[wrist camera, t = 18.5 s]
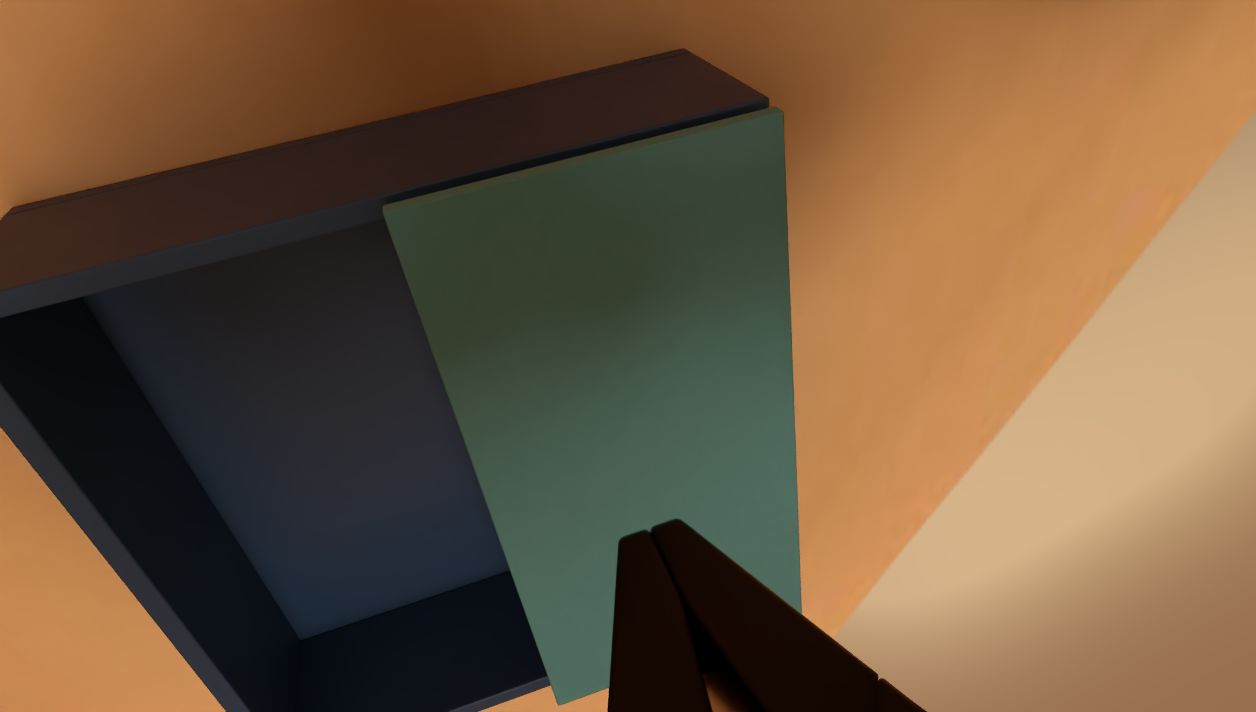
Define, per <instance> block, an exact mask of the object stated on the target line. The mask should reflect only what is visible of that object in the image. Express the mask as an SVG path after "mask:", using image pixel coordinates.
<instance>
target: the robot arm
mask: <svg viewBox="0 0 1256 712" xmlns="http://www.w3.org/2000/svg"><path fill="white" fill-rule="evenodd" d="M712 710H713V711H712ZM608 712H926V711H925V710H924V709H922V708H921V707H920V706H918V705H917V704H916V703H914V702H913V701H912V700H910V699H909V698H908V697H906V696H905V695H904V694H903V693H901V692H900V691H899V690H898V689H896V688H895V687H894V686H893V685H891V684H890V683H889V682H887V681H886V680H885V679H882V678H881V679H879V680H878V674H877V673H876V672H874V671H873V670H872V669H870V668H869V667H868V666H867V665H865V664H864V663H863V662H862V661H860V660H859V659H858V658H856V657H855V656H854V655H853V654H851V653H850V652H849V651H848V650H846V649H845V648H844V647H843V646H841V645H840V644H839V643H838V642H836V641H835V640H834V639H832V638H831V637H830V636H829V635H827V634H826V633H825V632H824V631H822V630H821V629H820V628H819V627H817V626H816V625H815V624H813V623H812V622H811V621H810V620H808V619H807V618H806V617H805V616H803V615H802V614H801V613H799V612H798V611H797V610H796V609H794V608H793V607H792V606H791V605H789V604H788V603H787V602H786V601H784V600H783V599H782V598H780V597H779V596H778V595H777V594H775V593H774V592H773V591H772V590H770V589H769V588H768V587H766V586H765V585H764V584H763V583H761V582H760V581H759V580H758V579H756V578H755V577H754V576H753V575H751V574H750V573H749V572H747V571H746V570H745V569H744V568H742V567H741V566H740V565H739V564H737V563H736V562H735V561H733V560H732V559H731V558H730V557H728V556H727V555H726V554H725V553H723V552H722V551H721V550H720V549H718V548H717V547H716V546H714V545H713V544H712V543H711V542H709V541H708V540H707V539H706V538H704V537H703V536H702V535H700V534H699V533H698V532H697V531H695V530H694V529H693V528H692V527H690V526H689V525H688V524H687V523H685V522H684V521H682V520H681V519H677V518H676V519H672V520H669V521H666V522H663V523H660V524H657V525H654V526H653V527H652V528H651V529H650V532H649V531H648V530H646V529H643V530H640V531H637V532H634V533H631V534H628V535H625V536H623V537H621V538H620V539H619V542H618V553H617V569H616V585H615V601H614V617H613V633H612V649H611V665H610V682H609V698H608Z"/></svg>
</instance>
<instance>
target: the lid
mask: <svg viewBox="0 0 1256 712" xmlns="http://www.w3.org/2000/svg"><path fill="white" fill-rule="evenodd" d="M383 215H384V218H385V221H386V224H387V227H388V229H389V232H390V235H391V238H392V241H393V244H394V246H395V249H396V252H397V255H398V258H399V260H400V263H401V266H402V269H403V272H404V274H405V277H406V280H407V283H408V286H409V288H410V291H411V294H412V297H413V300H414V302H415V305H416V308H417V311H418V314H419V316H420V319H421V322H422V325H423V328H424V330H425V333H426V336H427V339H428V342H429V344H430V347H431V350H432V353H433V356H434V359H435V361H436V364H437V367H438V370H439V373H440V375H441V378H442V381H443V384H444V387H445V389H446V392H447V395H448V398H449V401H450V403H451V406H452V409H453V412H454V415H455V417H456V420H457V423H458V426H459V429H460V431H461V434H462V437H463V440H464V443H465V445H466V448H467V451H468V454H469V457H470V459H471V462H472V465H473V468H474V471H475V474H476V476H477V479H478V482H479V485H480V488H481V490H482V493H483V496H484V499H485V502H486V504H487V507H488V510H489V513H490V516H491V518H492V521H493V524H494V527H495V530H496V532H497V535H498V538H499V541H500V544H501V546H502V549H503V552H504V555H505V558H506V560H507V563H508V566H509V569H510V572H511V574H512V577H513V580H514V583H515V586H516V588H517V591H518V594H519V597H520V600H521V603H522V605H523V608H524V611H525V614H526V617H527V619H528V622H529V625H530V628H531V631H532V633H533V636H534V639H535V642H536V645H537V647H538V650H539V653H540V656H541V659H542V661H543V664H544V667H545V670H546V673H547V675H548V678H549V681H550V684H551V687H552V689H553V692H554V695H555V698H556V701H557V703H558V705H563V704H565V703H568V702H571V701H574V700H576V699H579V698H582V697H585V696H587V695H590V694H593V693H596V692H598V691H601V690H604V689H607V688H609V682H610V665H611V649H612V633H613V617H614V601H615V585H616V569H617V553H618V542H619V539H620V538H621V537H623V536H625V535H628V534H631V533H634V532H637V531H640V530H643V529H646V530H648V531H649V532H650V529H651V528H652V527H653V526H654V525H657V524H660V523H663V522H666V521H669V520H672V519H676V518H677V519H681V520H682V521H684V522H685V523H687V524H688V525H689V526H690V527H692V528H693V529H694V530H695V531H697V532H698V533H699V534H700V535H702V536H703V537H704V538H706V539H707V540H708V541H709V542H711V543H712V544H713V545H714V546H716V547H717V548H718V549H720V550H721V551H722V552H723V553H725V554H726V555H727V556H728V557H730V558H731V559H732V560H733V561H735V562H736V563H737V564H739V565H740V566H741V567H742V568H744V569H745V570H746V571H747V572H749V573H750V574H751V575H753V576H754V577H755V578H756V579H758V580H759V581H760V582H761V583H763V584H764V585H765V586H766V587H768V588H769V589H770V590H772V591H773V592H774V593H775V594H777V595H778V596H779V597H780V598H782V599H783V600H784V601H786V602H787V603H788V604H789V605H791V606H792V607H793V608H794V609H796V610H797V611H798V612H799V613H801V614H802V605H801V578H800V551H799V524H798V496H797V469H796V442H795V415H794V388H793V361H792V333H791V306H790V279H789V252H788V225H787V197H786V170H785V143H784V116H783V111H782V110H780V109H779V108H777V107H770V108H766V109H762V110H758V111H754V112H750V113H746V114H742V115H738V116H734V117H731V118H727V119H723V120H719V121H715V122H711V123H707V124H703V125H699V126H695V127H691V128H687V129H683V130H679V131H675V132H671V133H667V134H663V135H659V136H655V137H651V138H648V139H644V140H640V141H636V142H632V143H628V144H624V145H620V146H616V147H612V148H608V149H604V150H600V151H596V152H592V153H588V154H584V155H580V156H576V157H572V158H568V159H565V160H561V161H557V162H553V163H549V164H545V165H541V166H537V167H533V168H529V169H525V170H521V171H517V172H513V173H509V174H505V175H501V176H497V177H493V178H489V179H486V180H482V181H478V182H474V183H470V184H466V185H462V186H458V187H454V188H450V189H446V190H442V191H438V192H434V193H430V194H426V195H422V196H418V197H414V198H410V199H406V200H403V201H399V202H395V203H391V204H387V205H384V206H383Z"/></svg>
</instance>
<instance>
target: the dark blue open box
mask: <svg viewBox="0 0 1256 712" xmlns="http://www.w3.org/2000/svg"><path fill="white" fill-rule="evenodd" d="M766 108H769V98H768V97H767V96H765V95H763V94H762V93H760V92H758V91H756V90H755V89H753V88H751V87H749V86H748V85H746V84H744V83H743V82H741V81H739V80H737V79H736V78H734V77H732V76H731V75H729V74H727V73H725V72H724V71H722V70H720V69H718V68H717V67H715V66H713V65H712V64H710V63H708V62H706V61H705V60H703V59H701V58H699V57H698V56H696V55H694V54H693V53H690V52H689V51H688V50H686V49H680V50H676V51H671V52H667V53H663V54H659V55H655V56H650V57H646V58H642V59H638V60H634V61H629V62H625V63H621V64H617V65H613V66H608V67H604V68H600V69H596V70H591V71H587V72H583V73H579V74H575V75H570V76H566V77H562V78H558V79H554V80H549V81H545V82H541V83H537V84H532V85H528V86H524V87H520V88H516V89H511V90H507V91H503V92H499V93H495V94H490V95H486V96H482V97H478V98H474V99H469V100H465V101H461V102H457V103H452V104H448V105H444V106H440V107H436V108H431V109H427V110H423V111H419V112H415V113H410V114H406V115H402V116H398V117H393V118H389V119H385V120H381V121H377V122H372V123H368V124H364V125H360V126H356V127H351V128H347V129H343V130H339V131H335V132H330V133H326V134H322V135H318V136H313V137H309V138H305V139H301V140H297V141H292V142H288V143H284V144H280V145H276V146H271V147H267V148H263V149H259V150H254V151H250V152H246V153H242V154H238V155H233V156H229V157H225V158H221V159H217V160H212V161H208V162H204V163H200V164H196V165H191V166H187V167H183V168H179V169H174V170H170V171H166V172H162V173H158V174H153V175H149V176H145V177H141V178H137V179H132V180H128V181H124V182H120V183H115V184H111V185H107V186H103V187H99V188H94V189H90V190H86V191H82V192H78V193H73V194H69V195H65V196H61V197H56V198H52V199H48V200H44V201H40V202H35V203H31V204H27V205H23V206H19V207H14V208H12V209H11V210H10V211H9V212H8V213H7V214H6V215H5V216H4V217H3V218H2V219H1V220H0V427H1V428H2V429H3V430H4V432H5V433H6V434H7V436H8V437H9V438H10V439H11V441H12V442H13V443H14V444H15V446H16V447H17V448H18V449H19V451H20V452H21V453H22V454H23V456H24V457H25V458H26V460H27V461H28V462H29V463H30V465H31V466H32V467H33V468H34V470H35V471H36V472H37V473H38V475H39V476H40V477H41V478H42V480H43V481H44V482H45V483H46V485H47V486H48V487H49V489H50V490H51V491H52V492H53V494H54V495H55V496H56V497H57V499H58V500H59V501H60V502H61V504H62V505H63V506H64V507H65V509H66V510H67V511H68V513H69V514H70V515H71V516H72V518H73V519H74V520H75V521H76V523H77V524H78V525H79V526H80V528H81V529H82V530H83V531H84V533H85V534H86V535H87V536H88V538H89V539H90V540H91V542H92V543H93V544H94V545H95V547H96V548H97V549H98V550H99V552H100V553H101V554H102V555H103V557H104V558H105V559H106V560H107V562H108V563H109V564H110V566H111V567H112V568H113V569H114V571H115V572H116V573H117V574H118V576H119V577H120V578H121V579H122V581H123V582H124V583H125V584H126V586H127V587H128V588H129V589H130V591H131V592H132V593H133V595H134V596H135V597H136V598H137V600H138V601H139V602H140V603H141V605H142V606H143V607H144V608H145V610H146V611H147V612H148V613H149V615H150V616H151V617H152V618H153V620H154V621H155V622H156V624H157V625H158V626H159V627H160V629H161V630H162V631H163V632H164V634H165V635H166V636H167V637H168V639H169V640H170V641H171V642H172V644H173V645H174V646H175V648H176V649H177V650H178V651H179V653H180V654H181V655H182V656H183V658H184V659H185V660H186V661H187V663H188V664H189V665H190V666H191V668H192V669H193V670H194V671H195V673H196V674H197V675H198V677H199V678H200V679H201V680H202V682H203V683H204V684H205V685H206V687H207V688H208V689H209V690H210V692H211V693H212V694H213V695H214V697H215V698H216V699H217V701H218V702H219V703H220V704H221V706H222V707H223V708H224V709H225V711H226V712H478V711H481V710H484V709H487V708H489V707H492V706H495V705H498V704H500V703H503V702H506V701H509V700H512V699H514V698H517V697H520V696H523V695H525V694H528V693H531V692H534V691H536V690H539V689H542V688H545V687H547V686H550V685H551V684H550V681H549V678H548V675H547V673H546V670H545V667H544V664H543V661H542V659H541V656H540V653H539V650H538V647H537V645H536V642H535V639H534V636H533V633H532V631H531V628H530V625H529V622H528V619H527V617H526V614H525V611H524V608H523V605H522V603H521V600H520V597H519V594H518V591H517V588H516V586H515V583H514V580H513V577H512V574H511V572H510V569H509V566H508V563H507V560H506V558H505V555H504V552H503V549H502V546H501V544H500V541H499V538H498V535H497V532H496V530H495V527H494V524H493V521H492V518H491V516H490V513H489V510H488V507H487V504H486V502H485V499H484V496H483V493H482V490H481V488H480V485H479V482H478V479H477V476H476V474H475V471H474V468H473V465H472V462H471V459H470V457H469V454H468V451H467V448H466V445H465V443H464V440H463V437H462V434H461V431H460V429H459V426H458V423H457V420H456V417H455V415H454V412H453V409H452V406H451V403H450V401H449V398H448V395H447V392H446V389H445V387H444V384H443V381H442V378H441V375H440V373H439V370H438V367H437V364H436V361H435V359H434V356H433V353H432V350H431V347H430V344H429V342H428V339H427V336H426V333H425V330H424V328H423V325H422V322H421V319H420V316H419V314H418V311H417V308H416V305H415V302H414V300H413V297H412V294H411V291H410V288H409V286H408V283H407V280H406V277H405V274H404V272H403V269H402V266H401V263H400V260H399V258H398V255H397V252H396V249H395V246H394V244H393V241H392V238H391V235H390V232H389V229H388V227H387V224H386V221H385V218H384V215H383V206H384V205H387V204H391V203H395V202H399V201H403V200H406V199H410V198H414V197H418V196H422V195H426V194H430V193H434V192H438V191H442V190H446V189H450V188H454V187H458V186H462V185H466V184H470V183H474V182H478V181H482V180H486V179H489V178H493V177H497V176H501V175H505V174H509V173H513V172H517V171H521V170H525V169H529V168H533V167H537V166H541V165H545V164H549V163H553V162H557V161H561V160H565V159H568V158H572V157H576V156H580V155H584V154H588V153H592V152H596V151H600V150H604V149H608V148H612V147H616V146H620V145H624V144H628V143H632V142H636V141H640V140H644V139H648V138H651V137H655V136H659V135H663V134H667V133H671V132H675V131H679V130H683V129H687V128H691V127H695V126H699V125H703V124H707V123H711V122H715V121H719V120H723V119H727V118H731V117H734V116H738V115H742V114H746V113H750V112H754V111H758V110H762V109H766Z"/></svg>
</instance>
